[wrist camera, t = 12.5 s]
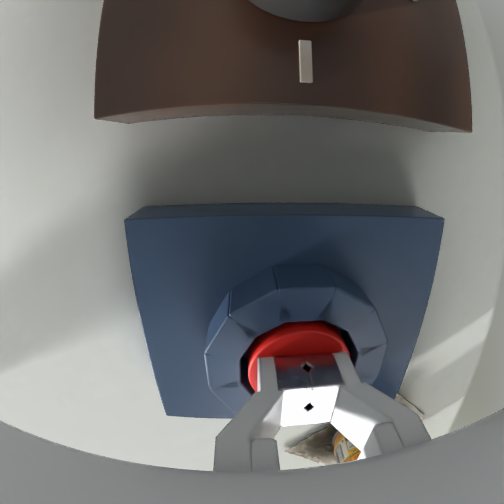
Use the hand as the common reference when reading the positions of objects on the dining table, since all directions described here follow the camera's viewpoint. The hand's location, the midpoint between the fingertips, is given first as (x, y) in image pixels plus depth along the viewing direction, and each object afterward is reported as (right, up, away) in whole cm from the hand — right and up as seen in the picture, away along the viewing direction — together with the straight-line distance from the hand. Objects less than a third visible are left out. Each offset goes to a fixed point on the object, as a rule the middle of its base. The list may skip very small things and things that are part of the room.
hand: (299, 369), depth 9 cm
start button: (0, 0, +2) cm, 2 cm away
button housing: (0, +1, +4) cm, 4 cm away
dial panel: (0, +14, -1) cm, 14 cm away
